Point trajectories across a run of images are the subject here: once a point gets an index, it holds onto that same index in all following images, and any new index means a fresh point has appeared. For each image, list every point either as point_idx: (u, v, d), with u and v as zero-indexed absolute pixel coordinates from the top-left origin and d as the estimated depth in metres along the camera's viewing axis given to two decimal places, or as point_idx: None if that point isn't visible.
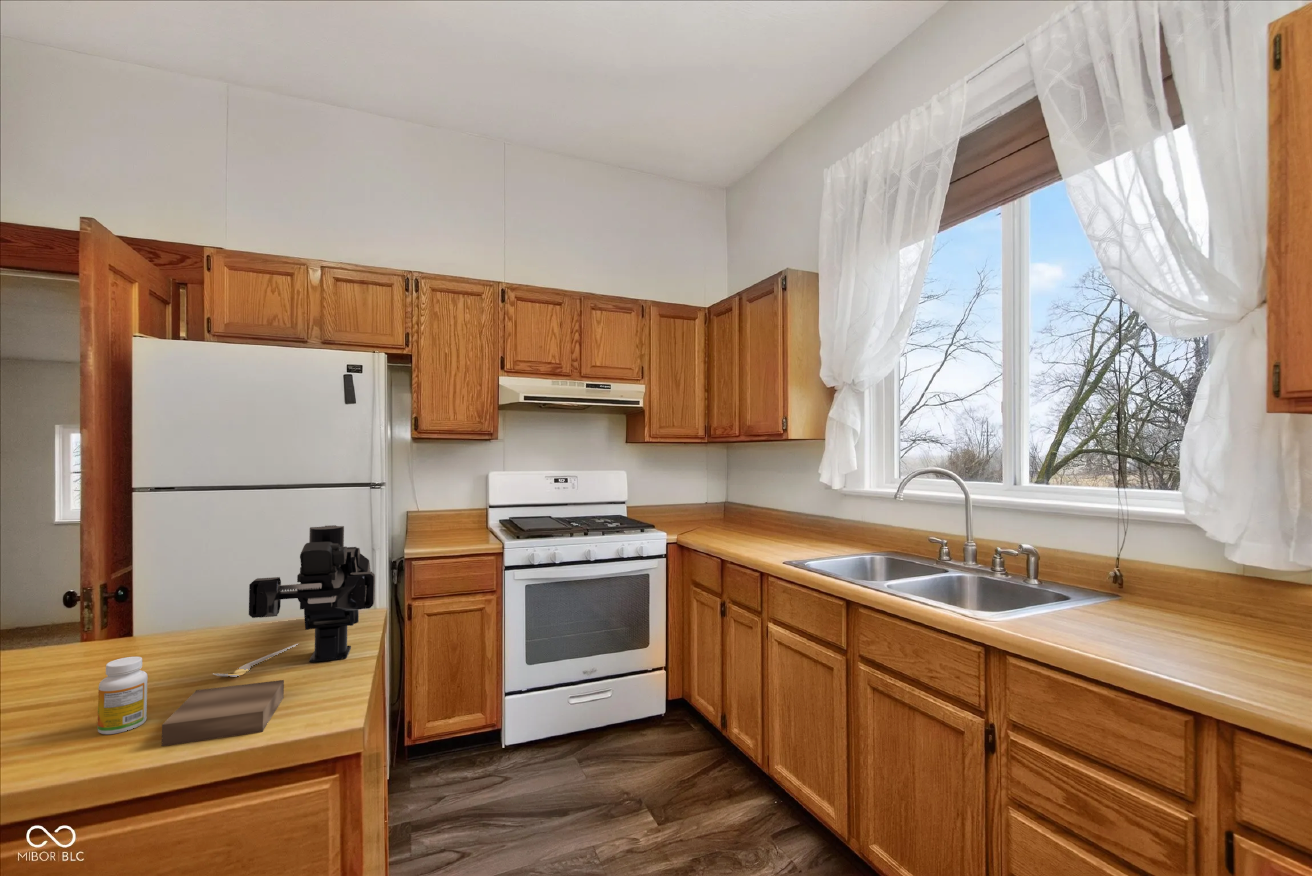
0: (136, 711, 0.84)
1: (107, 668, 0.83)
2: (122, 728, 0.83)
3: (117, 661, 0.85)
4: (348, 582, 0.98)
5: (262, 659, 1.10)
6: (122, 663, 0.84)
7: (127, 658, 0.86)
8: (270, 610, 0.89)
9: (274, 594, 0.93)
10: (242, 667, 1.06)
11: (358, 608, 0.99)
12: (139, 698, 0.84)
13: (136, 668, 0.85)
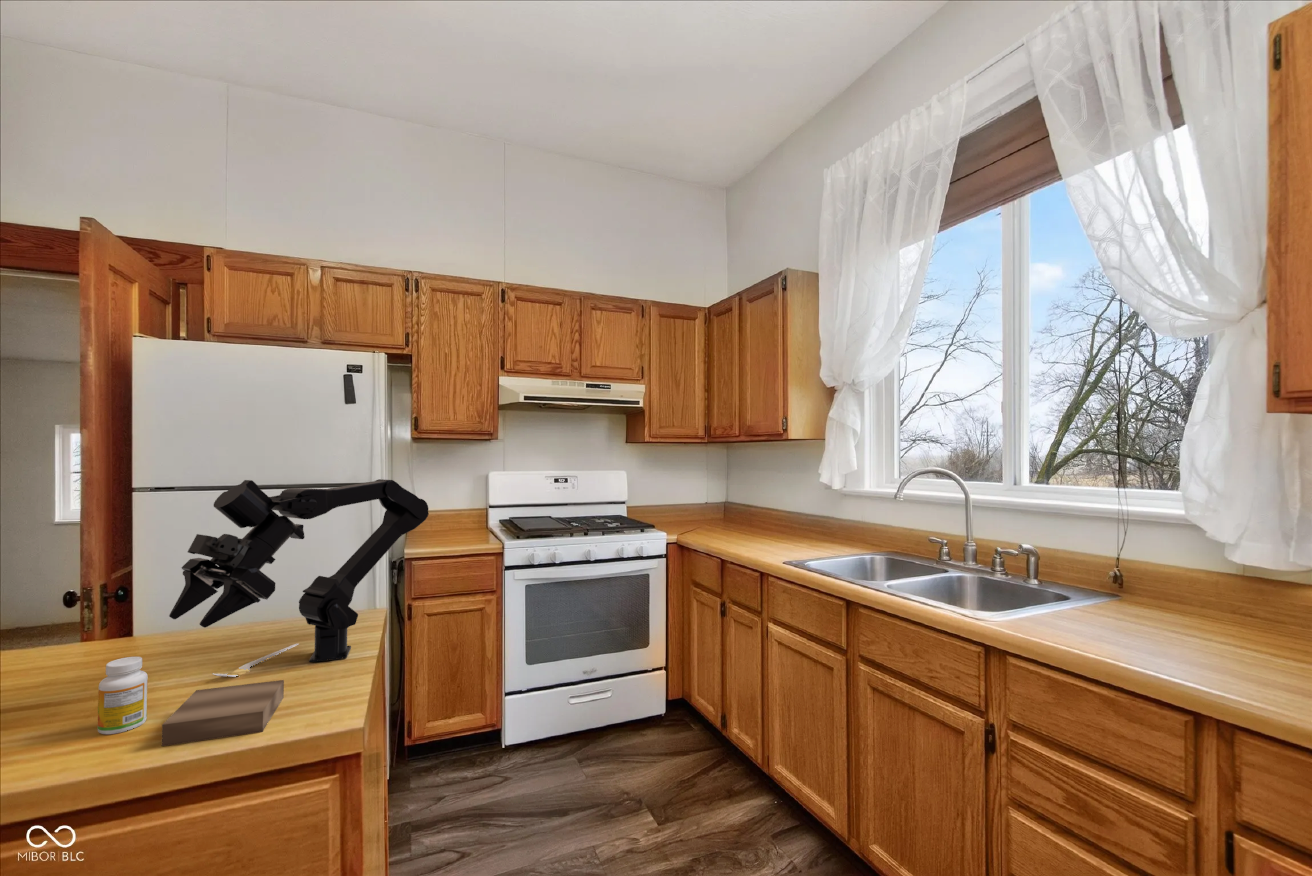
0: (136, 711, 0.84)
1: (107, 668, 0.83)
2: (122, 728, 0.83)
3: (117, 661, 0.85)
4: (225, 587, 0.92)
5: (262, 659, 1.10)
6: (122, 663, 0.84)
7: (127, 658, 0.86)
8: (173, 618, 0.94)
9: (185, 591, 0.96)
10: (242, 667, 1.06)
11: (255, 601, 0.95)
12: (139, 698, 0.84)
13: (136, 668, 0.85)
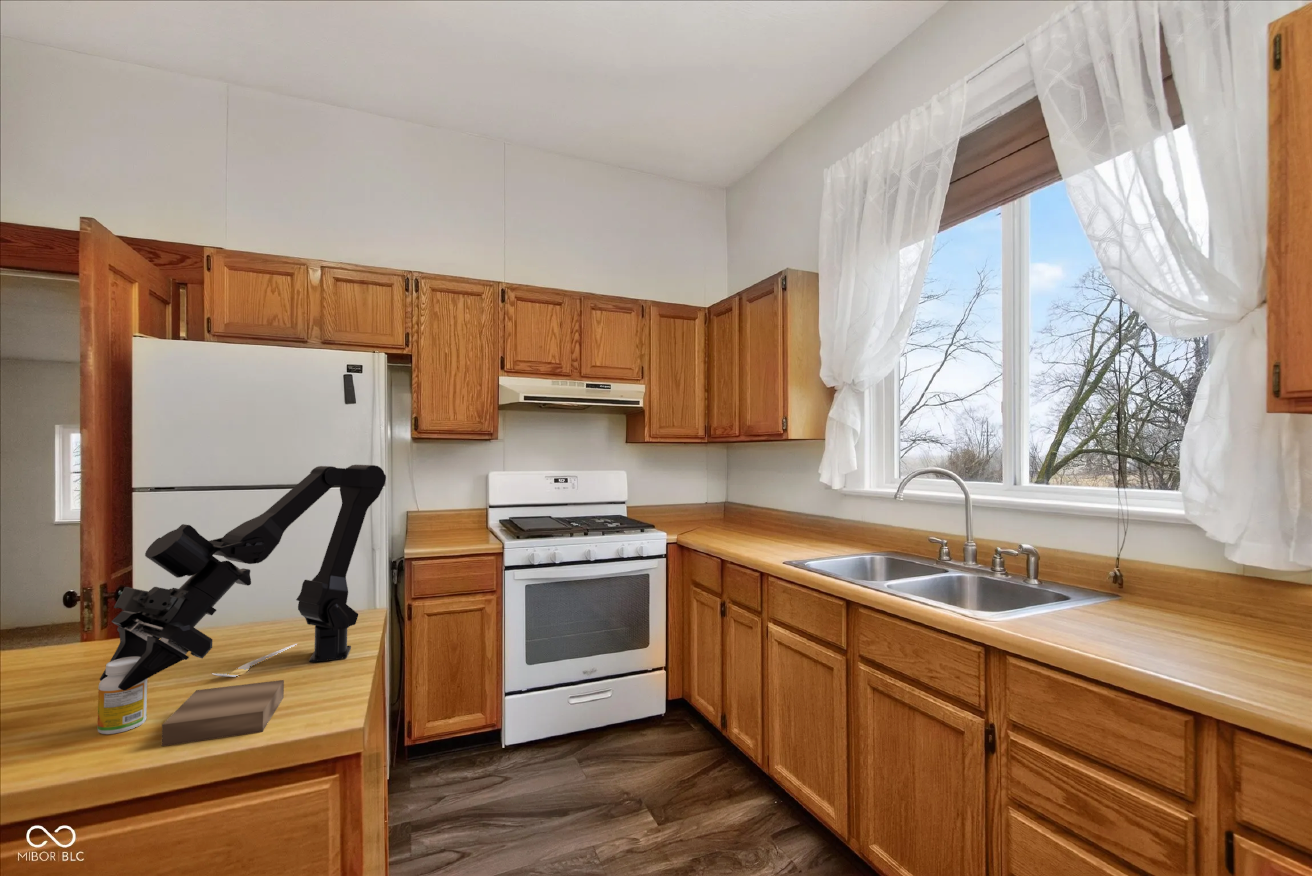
0: (136, 711, 0.84)
1: (106, 667, 0.83)
2: (122, 728, 0.83)
3: (117, 661, 0.85)
4: (148, 645, 0.84)
5: (261, 659, 1.10)
6: (122, 663, 0.84)
7: (127, 658, 0.86)
8: None
9: (119, 650, 0.87)
10: (241, 667, 1.06)
11: (183, 659, 0.87)
12: (139, 698, 0.84)
13: None
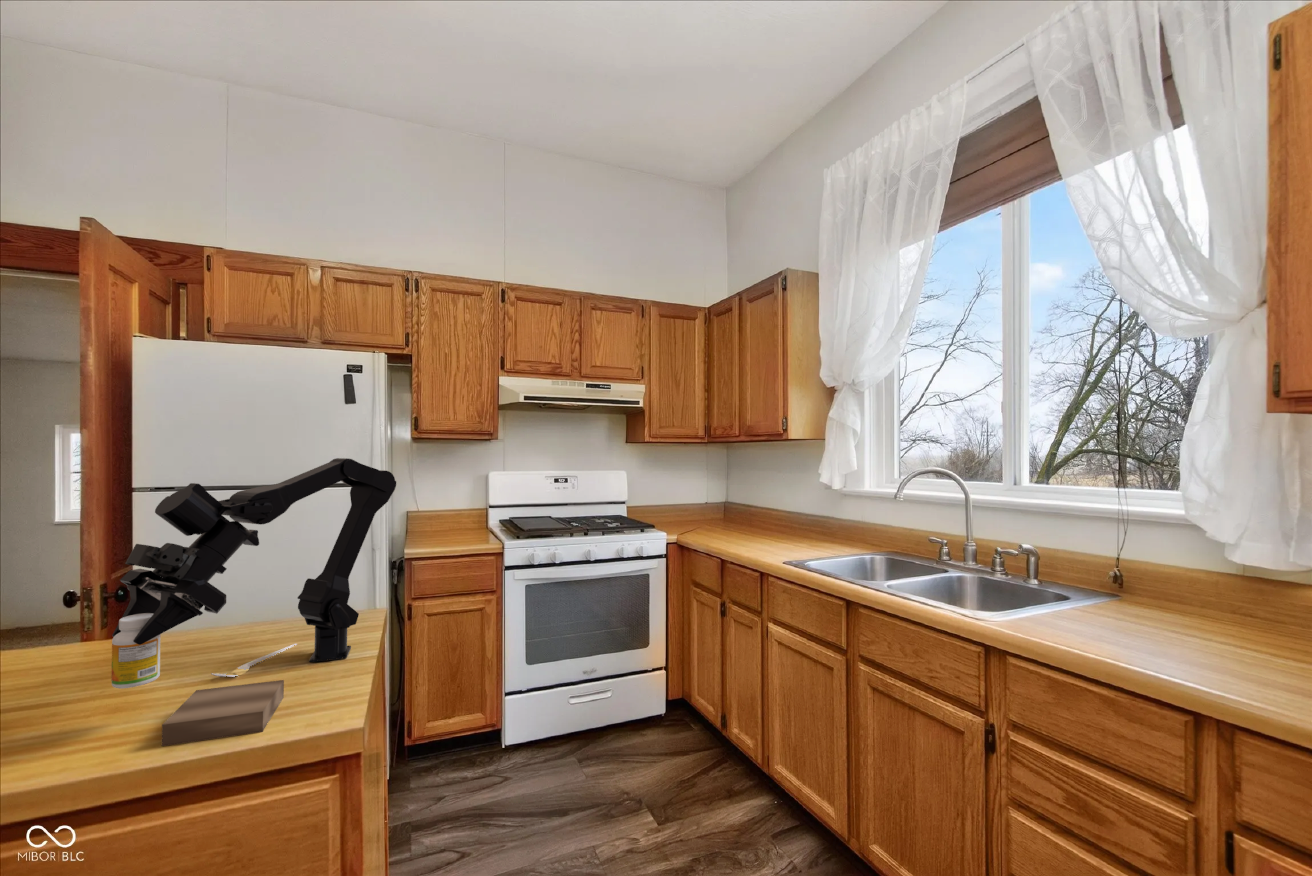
0: (150, 666, 0.84)
1: (120, 623, 0.83)
2: (137, 682, 0.83)
3: (130, 617, 0.85)
4: (162, 600, 0.85)
5: (261, 659, 1.10)
6: (135, 618, 0.84)
7: (139, 614, 0.86)
8: None
9: (131, 607, 0.87)
10: (241, 667, 1.06)
11: (196, 614, 0.87)
12: (153, 653, 0.85)
13: None
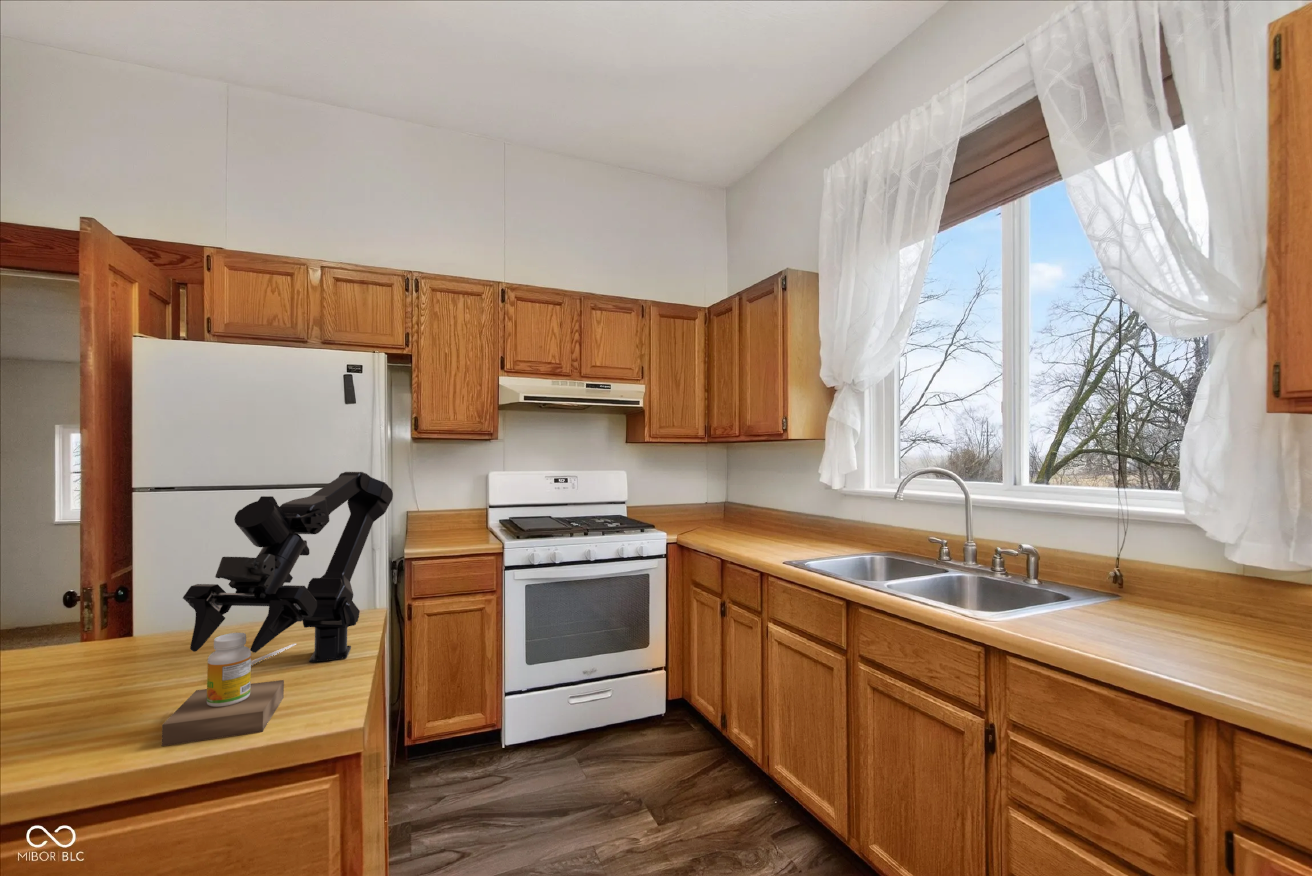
0: (248, 682, 0.88)
1: (220, 643, 0.85)
2: (239, 698, 0.86)
3: (222, 637, 0.87)
4: (271, 608, 0.88)
5: (260, 659, 1.10)
6: (233, 637, 0.87)
7: (227, 635, 0.88)
8: (194, 650, 0.86)
9: (202, 620, 0.88)
10: None
11: (296, 621, 0.92)
12: (249, 669, 0.88)
13: (245, 641, 0.88)
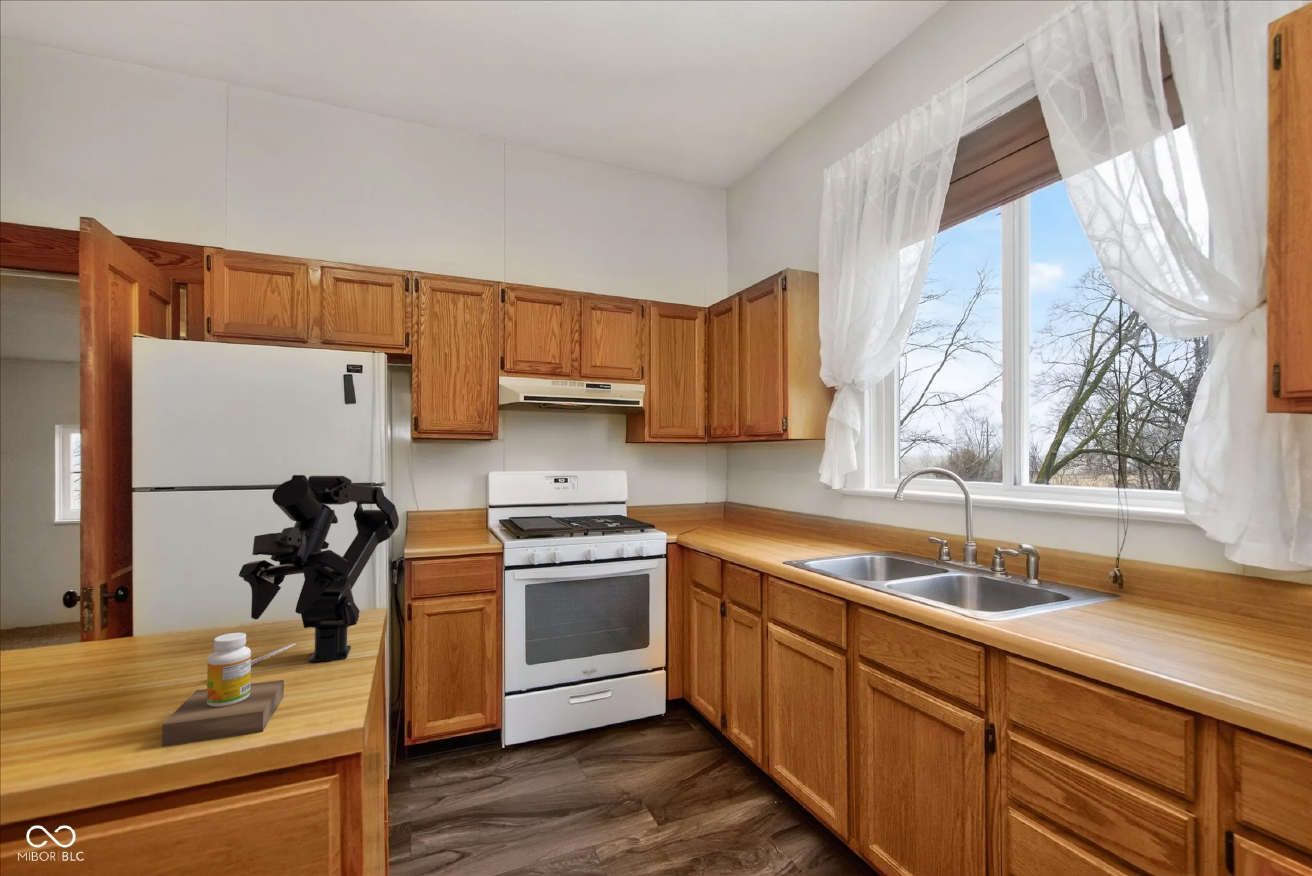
0: (248, 682, 0.88)
1: (220, 643, 0.85)
2: (239, 698, 0.86)
3: (222, 637, 0.87)
4: (306, 574, 0.97)
5: (259, 659, 1.10)
6: (233, 638, 0.87)
7: (227, 635, 0.88)
8: (255, 618, 0.97)
9: (256, 592, 0.99)
10: None
11: (334, 581, 1.01)
12: (249, 669, 0.88)
13: (245, 641, 0.88)
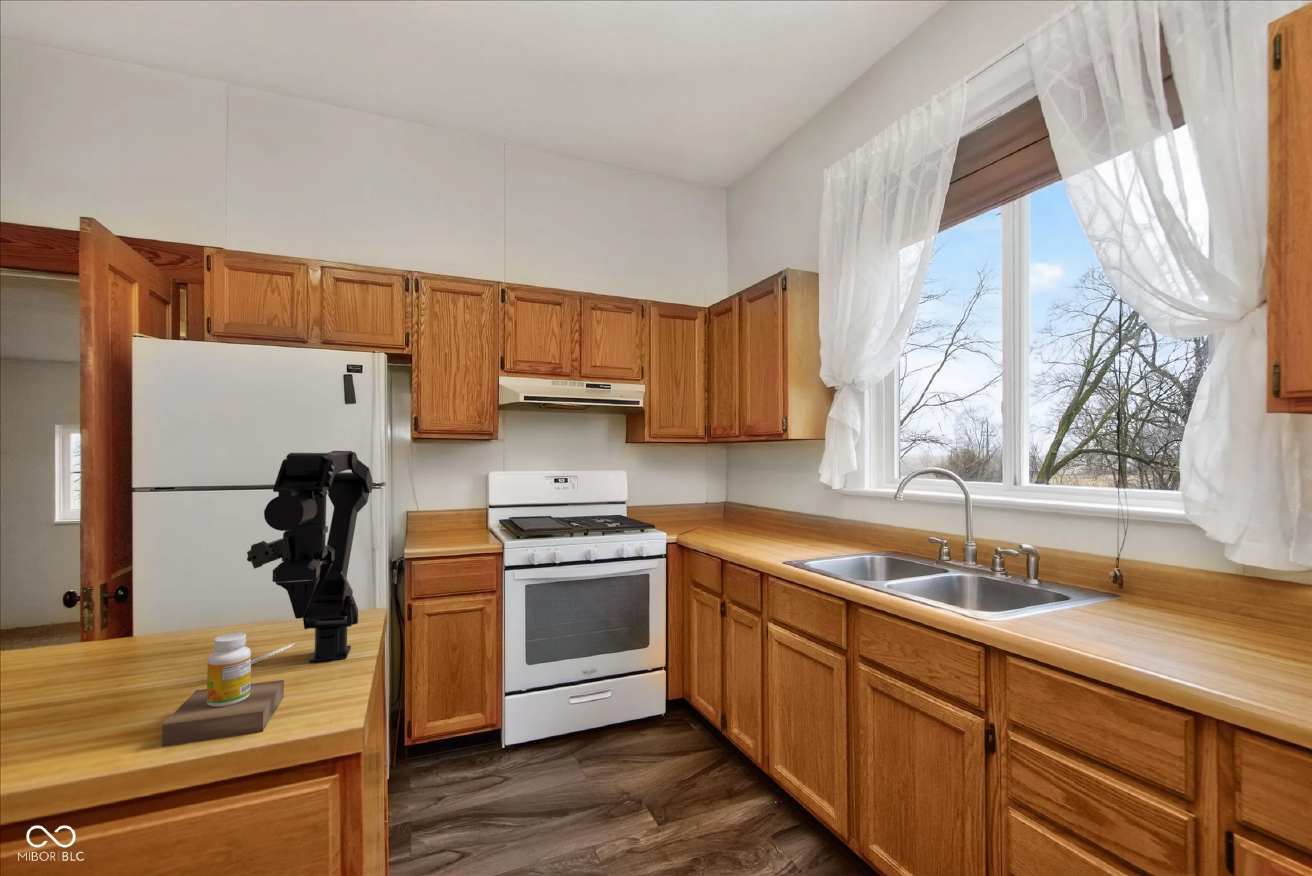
0: (248, 682, 0.88)
1: (220, 643, 0.85)
2: (239, 698, 0.86)
3: (222, 637, 0.87)
4: None
5: (259, 659, 1.10)
6: (233, 638, 0.87)
7: (227, 635, 0.88)
8: (311, 603, 1.04)
9: None
10: None
11: None
12: (249, 669, 0.88)
13: (245, 641, 0.88)
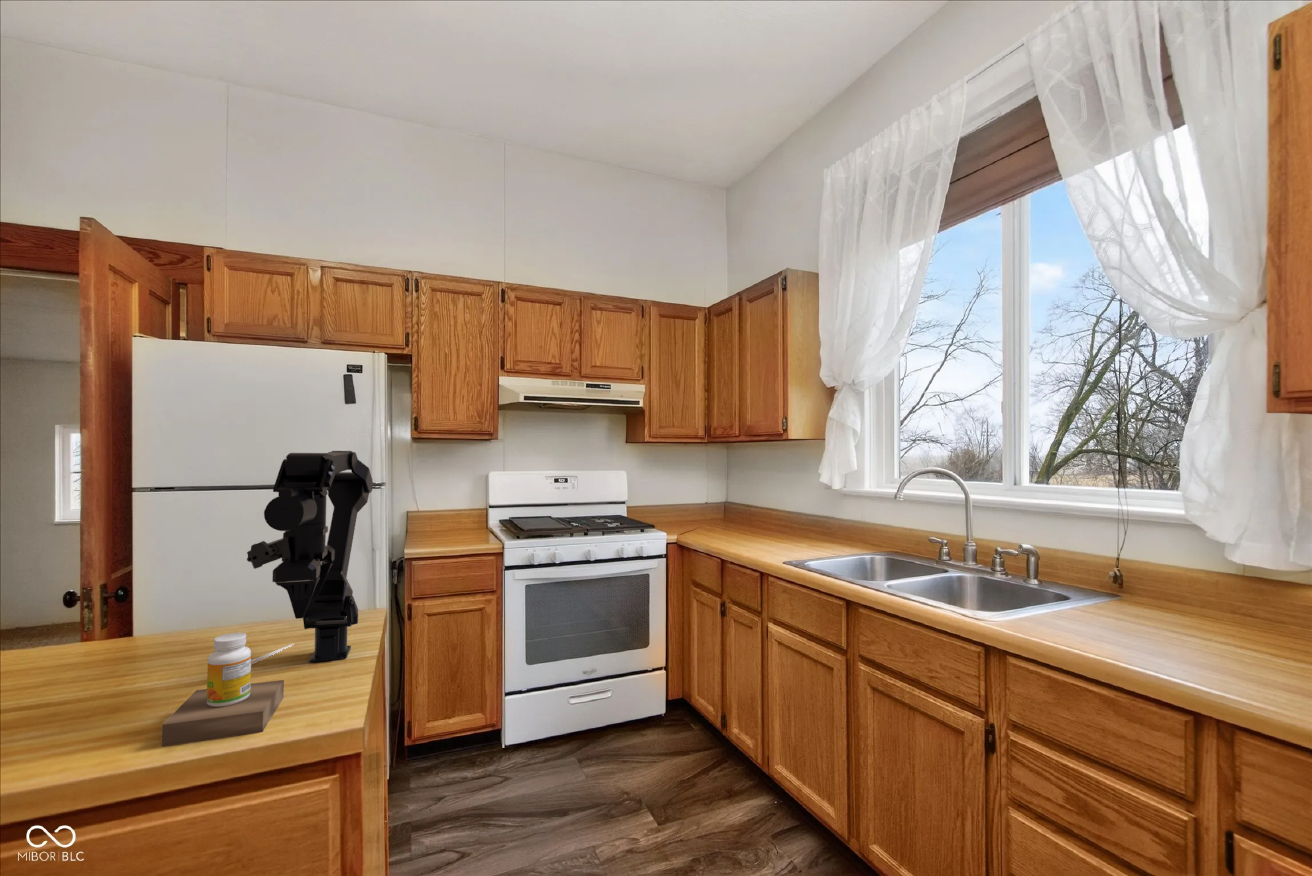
0: (248, 682, 0.88)
1: (220, 643, 0.85)
2: (239, 698, 0.86)
3: (222, 637, 0.87)
4: None
5: (258, 659, 1.10)
6: (233, 638, 0.87)
7: (227, 635, 0.88)
8: (312, 603, 1.04)
9: None
10: None
11: (315, 582, 0.95)
12: (249, 669, 0.88)
13: (245, 641, 0.88)
